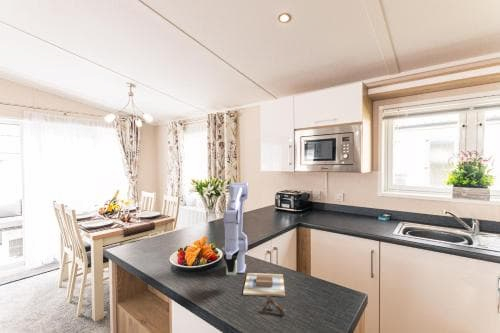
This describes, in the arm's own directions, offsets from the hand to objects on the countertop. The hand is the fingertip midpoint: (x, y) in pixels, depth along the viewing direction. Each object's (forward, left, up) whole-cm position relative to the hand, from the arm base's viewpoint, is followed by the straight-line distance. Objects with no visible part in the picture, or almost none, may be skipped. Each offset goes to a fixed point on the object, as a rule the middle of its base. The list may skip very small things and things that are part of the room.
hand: (231, 269), depth 103 cm
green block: (0, 0, -2) cm, 2 cm away
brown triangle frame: (+15, +18, -8) cm, 25 cm away
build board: (-4, +14, -8) cm, 17 cm away
